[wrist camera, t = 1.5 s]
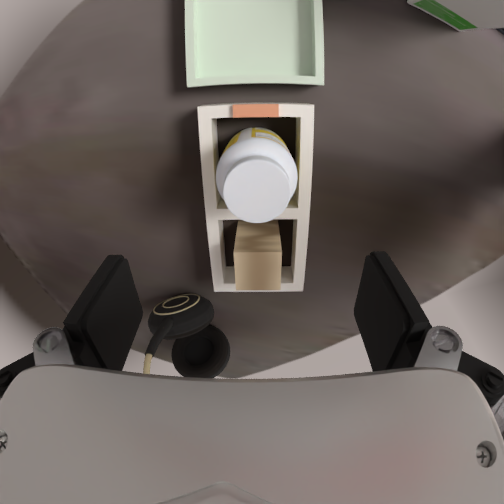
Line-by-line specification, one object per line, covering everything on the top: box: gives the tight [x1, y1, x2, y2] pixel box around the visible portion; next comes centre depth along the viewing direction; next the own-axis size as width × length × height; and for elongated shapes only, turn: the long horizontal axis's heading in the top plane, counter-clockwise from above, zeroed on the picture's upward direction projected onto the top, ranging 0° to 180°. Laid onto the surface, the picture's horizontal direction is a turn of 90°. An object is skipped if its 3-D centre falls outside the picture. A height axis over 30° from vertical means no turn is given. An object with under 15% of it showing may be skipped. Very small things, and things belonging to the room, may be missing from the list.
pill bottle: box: [216, 127, 298, 223], centre depth 25 cm, size 6×6×12 cm
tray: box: [185, 0, 324, 87], centre depth 21 cm, size 13×14×2 cm
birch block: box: [234, 220, 282, 290], centre depth 32 cm, size 4×4×7 cm
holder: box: [198, 103, 314, 292], centre depth 30 cm, size 10×21×4 cm, turn 1°
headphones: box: [143, 294, 230, 378], centre depth 33 cm, size 9×15×20 cm, turn 14°
